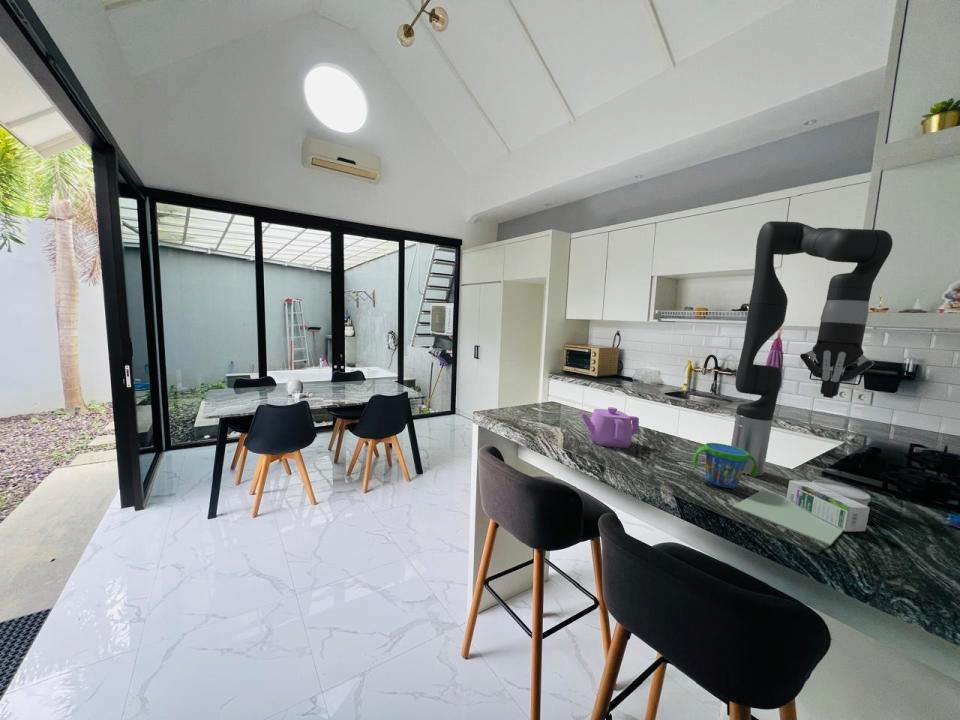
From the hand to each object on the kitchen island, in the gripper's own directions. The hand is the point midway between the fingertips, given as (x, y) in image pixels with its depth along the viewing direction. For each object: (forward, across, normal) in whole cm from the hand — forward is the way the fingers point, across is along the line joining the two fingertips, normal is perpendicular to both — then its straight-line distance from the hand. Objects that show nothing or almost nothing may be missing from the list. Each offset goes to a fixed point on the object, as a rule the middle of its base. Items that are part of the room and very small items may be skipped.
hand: (828, 397), depth 89 cm
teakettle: (+30, +58, -5) cm, 66 cm away
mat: (+29, +2, +3) cm, 29 cm away
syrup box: (+26, -9, 0) cm, 27 cm away
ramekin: (+30, -3, -14) cm, 33 cm away
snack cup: (+29, +19, -1) cm, 35 cm away
